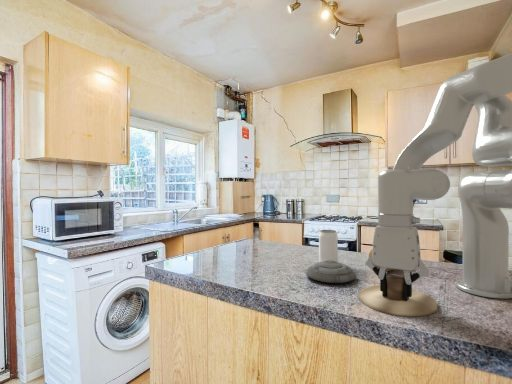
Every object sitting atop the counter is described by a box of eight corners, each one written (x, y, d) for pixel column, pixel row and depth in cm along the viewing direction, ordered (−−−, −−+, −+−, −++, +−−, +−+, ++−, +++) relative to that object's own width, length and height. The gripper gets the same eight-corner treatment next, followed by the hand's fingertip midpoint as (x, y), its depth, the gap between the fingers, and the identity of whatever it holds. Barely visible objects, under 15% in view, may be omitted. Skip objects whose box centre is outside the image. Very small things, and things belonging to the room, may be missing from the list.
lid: (439, 296, 72) (439, 273, 72) (434, 323, 58) (434, 295, 58) (368, 284, 82) (368, 263, 81) (349, 304, 68) (349, 280, 68)
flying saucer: (310, 286, 81) (310, 267, 81) (302, 271, 96) (302, 255, 96) (364, 286, 81) (364, 267, 81) (347, 271, 96) (347, 254, 96)
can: (339, 266, 100) (339, 232, 100) (321, 266, 100) (320, 232, 100) (335, 261, 107) (334, 229, 107) (317, 261, 107) (317, 229, 107)
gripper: (438, 222, 67) (438, 300, 67) (364, 218, 78) (365, 285, 78) (433, 225, 61) (434, 311, 62) (355, 220, 72) (355, 294, 72)
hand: (395, 296), depth 70 cm, fingers closed on lid, 4 cm apart
